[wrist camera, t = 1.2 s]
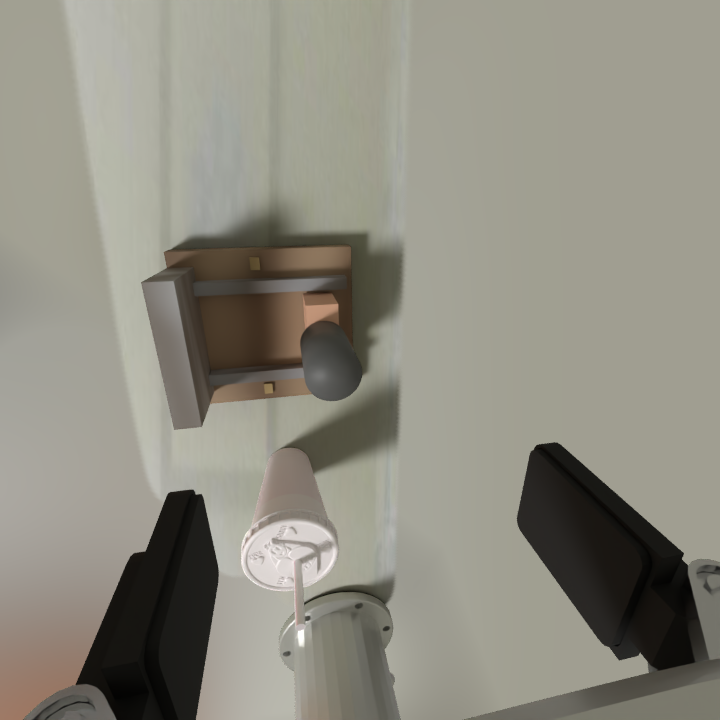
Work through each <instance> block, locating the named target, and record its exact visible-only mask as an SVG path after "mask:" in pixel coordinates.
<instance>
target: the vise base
mask: <svg viewBox="0 0 720 720" xmlns="http://www.w3.org/2000/svg"><path fill="white" fill-rule="evenodd" d="M164 255H165V260H166V265H167V268H166V269H165V270H163V271H161V272H159V273H157V274H156V275H154V276H152V277H150V278H148V279H147V280H145V281H143V282H141V284H142V289H143V293H144V297H145V302H146V306H147V311H148V315H149V320H150V324H151V329H152V333H153V337H154V342H155V346H156V351H157V355H158V360H159V364H160V369H161V373H162V377H163V382H164V386H165V391H166V395H167V400H168V404H169V409H170V413H171V417H172V422H173V426H174V430H176V429H186V428H196V427H202V425H203V422H204V419H205V416H206V414H207V411H208V408H209V405H210V404H212V403H223V402H233V401H244V400H255V399H265V398H276V397H286V396H297V395H308V394H312V393H311V392H310V391H309V389H308V388H307V386H306V383H305V378H304V371H303V363H302V356H301V348H300V339H301V336H302V334H303V332H304V331H305V322H304V307H303V293H321V292H332V294H333V296H334V298H335V299H336V301H337V303H338V313H339V326H340V327H341V328H342V329H343V331H344V332H345V334H346V336H347V338H348V340H349V342H350V344H351V346H352V348H353V339H352V283H351V246H349V245H313V246H278V247H243V248H208V249H173V250H168V251H165V252H164Z"/></svg>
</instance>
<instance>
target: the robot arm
mask: <svg viewBox="0 0 720 720" xmlns="http://www.w3.org/2000/svg"><path fill="white" fill-rule="evenodd" d="M517 523H518V527H519V529H520V531H521V532H522V534H523V535H524V536H525V538H526V539H527V541H528V542H529V543H530V545H531V546H532V547H533V549H534V550H535V552H536V553H537V554H538V556H539V557H540V559H541V560H542V561H543V563H544V564H545V566H546V567H547V568H548V570H549V571H550V572H551V574H552V575H553V577H554V578H555V579H556V581H557V582H558V584H559V585H560V586H561V588H562V589H563V591H564V592H565V593H566V595H567V596H568V597H569V599H570V600H571V602H572V603H573V604H574V606H575V607H576V609H577V610H578V611H579V613H580V614H581V615H582V617H583V618H584V620H585V621H586V622H587V624H588V625H589V627H590V628H591V629H592V631H593V632H594V634H595V635H596V636H597V638H598V639H599V640H600V641H601V643H602V644H604V645H605V646H608V647H610V649H611V650H612V651H613V653H614V654H615V656H616V657H617V658H618V659H619V660H622V659H627V658H631V657H635V656H638V655H639V653H641V654H642V655H643V656H644V658H645V659H646V660H647V661H648V669H649V673H647V674H643V675H639V676H635V677H631V678H627V679H623V680H619V681H615V682H611V683H607V684H603V685H599V686H595V687H591V688H587V689H583V690H579V691H575V692H571V693H567V694H563V695H559V696H555V697H551V698H547V699H543V700H539V701H535V702H531V703H527V704H524V705H519V706H516V707H511V708H507V709H504V710H500V711H496V712H492V713H488V714H484V715H480V716H476V717H472V718H468V719H464V720H720V562H717V561H713V560H709V559H698V560H695V561H692V562H691V563H690V564H689V566H688V565H687V564H686V563H685V562H684V561H683V560H682V557H683V555H684V553H683V552H682V551H681V550H679V549H678V548H677V547H676V546H675V545H674V544H672V542H670V541H669V540H668V539H667V538H666V537H665V536H664V535H662V534H661V533H660V532H659V531H658V530H657V529H656V528H654V527H653V526H652V525H651V524H650V523H649V522H648V521H647V520H645V519H644V518H643V517H642V516H641V515H640V514H639V513H638V512H636V511H635V510H634V509H633V508H632V507H631V506H629V505H628V504H627V503H626V502H625V501H624V500H623V499H622V498H621V497H619V496H618V495H617V494H616V493H615V492H614V491H613V490H611V489H610V488H609V487H608V486H607V485H606V484H605V483H603V482H602V481H601V480H600V479H599V478H598V477H597V476H595V475H594V474H593V473H592V472H591V471H590V470H589V469H588V468H586V467H585V466H584V465H583V464H582V463H581V462H580V461H579V460H577V459H576V458H575V457H574V456H573V455H572V454H570V453H569V452H568V451H567V450H566V449H565V448H564V447H562V445H560V444H558V443H555V442H554V443H547V444H539V445H536V447H535V448H534V450H533V451H531V453H530V456H529V461H528V466H527V471H526V476H525V481H524V486H523V491H522V496H521V501H520V506H519V511H518V516H517ZM218 576H219V572H218V564H217V560H216V555H215V550H214V546H213V541H212V536H211V532H210V527H209V522H208V518H207V513H206V508H205V504H204V499H203V496H202V494H198V495H195V492H194V490H184V491H176V492H170V493H168V495H167V497H166V500H165V502H164V505H163V507H162V510H161V513H160V515H159V518H158V521H157V523H156V526H155V529H154V531H153V534H152V536H151V539H150V542H149V544H148V547H147V550H146V551H145V552H139V553H134V554H133V555H132V556H131V557H130V559H129V561H128V562H127V564H126V566H125V569H124V571H123V574H122V576H121V578H120V581H119V583H118V586H117V588H116V590H115V593H114V595H113V597H112V600H111V602H110V605H109V607H108V609H107V612H106V614H105V616H104V619H103V621H102V624H101V626H100V628H99V631H98V633H97V635H96V638H95V640H94V643H93V645H92V647H91V649H90V652H89V654H88V657H87V659H86V661H85V664H84V666H83V668H82V671H81V673H80V676H79V678H78V681H77V683H76V685H74V686H71V687H68V688H65V689H63V690H60V691H58V692H56V693H55V694H53V695H52V696H50V697H48V698H47V699H45V700H44V701H42V702H41V703H40V704H39V705H38V706H37V707H35V708H34V709H33V710H32V711H31V712H30V713H29V714H28V715H27V716H26V717H25V718H24V719H23V720H196V715H197V709H198V702H199V696H200V690H201V684H202V678H203V672H204V666H205V659H206V654H207V647H208V641H209V635H210V629H211V623H212V617H213V611H214V604H215V598H216V592H217V586H218ZM304 608H305V626H306V627H305V629H304V630H302V631H297V630H296V629H295V612H294V613H293V614H292V615H291V616H290V617H289V618H288V620H287V621H286V622H285V624H284V626H283V628H282V629H281V632H280V636H279V654H280V657H281V659H282V661H283V663H284V664H285V665H286V666H287V667H288V668H289V669H291V670H292V671H294V677H295V678H294V680H295V715H296V717H295V718H296V720H401V719H400V715H399V710H398V706H397V702H396V697H395V693H394V689H393V685H394V682H395V678H394V676H393V674H391V673H390V671H389V667H388V663H387V659H386V654H385V650H384V649H385V648H386V646H387V645H388V643H389V642H390V639H391V636H392V632H393V623H392V619H391V616H390V612H389V610H388V608H387V607H386V605H385V604H384V603H382V602H381V601H380V600H379V599H377V598H375V597H373V596H371V595H367V594H364V593H358V592H340V593H334V594H329V595H326V596H322V597H319V598H317V599H315V600H312V601H310V602H308V603H307V604H305V605H304Z"/></svg>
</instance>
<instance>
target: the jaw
mask: <svg viewBox="0 0 720 720" xmlns="http://www.w3.org/2000/svg"><path fill="white" fill-rule="evenodd" d="M303 307H304V322H305V331H304V332H303V334H302V336H301V339H300V348H301V356H302V363H303V371H304V378H305V383H306V386H307V388H308V389H309V391H310V392H311V393H312V394H313V395H314V396H316V397H317V398H319V399H322V400H326V401H337V400H341V399H344V398H346V397H348V396H349V395H351V394H352V393H353V392H354V391H355V390H356V389H357V387H358V386H359V384H360V382H361V378H362V368H361V365H360V362H359V360H358V358H357V356H356V354H355V352H354V350H353V348H352V346H351V344H350V342H349V340H348V338H347V336H346V334H345V332H344V331H343V329H342V328H341V327H340V326H339V313H338V303H337V301H336V299H335V298H334V296H333V294H332V292H321V293H303Z"/></svg>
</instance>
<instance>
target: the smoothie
mask: <svg viewBox="0 0 720 720" xmlns="http://www.w3.org/2000/svg"><path fill="white" fill-rule="evenodd" d="M241 553H242V556H241V564H242V568H243V571H244V573H245V574H246V576H247V577H248V578H249V579H250V580H251V581H252V582H254V583H255V584H257V585H258V586H261V587H263V588H266V589H270V590H274V591H292V590H294V600H295V629H296V630H297V631H302V630H304V629H305V627H306V626H305V608H304V591H303V588H304V587H307V586H310V585H312V584H314V583H316V582H318V581H319V580H320V579H322V578H323V577H324V576H326V575H327V574H328V573H329V572H330V570H331V569H332V568H333V566H334V565H335V563H336V561H337V558H338V554H339V545H338V536H337V531H336V529H335V527H334V525H333V523H332V522H331V521H330V520H329V519H328V517H327V513H326V511H325V508H324V505H323V502H322V498H321V495H320V492H319V489H318V486H317V483H316V480H315V477H314V473H313V470H312V467H311V464H310V461H309V458H308V456H307V455H306V454H305V453H304V452H303V451H301V450H299V449H297V448H283V449H280V450H278V451H276V452H275V453H274V454H272V456H271V457H270V458H269V460H268V463H267V467H266V471H265V475H264V479H263V483H262V487H261V490H260V494H259V498H258V502H257V506H256V510H255V514H254V518H253V521H252V525H251V528H250V529H249V530H248V531H247V532H246V535H245V537H244V539H243V541H242V549H241Z"/></svg>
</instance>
